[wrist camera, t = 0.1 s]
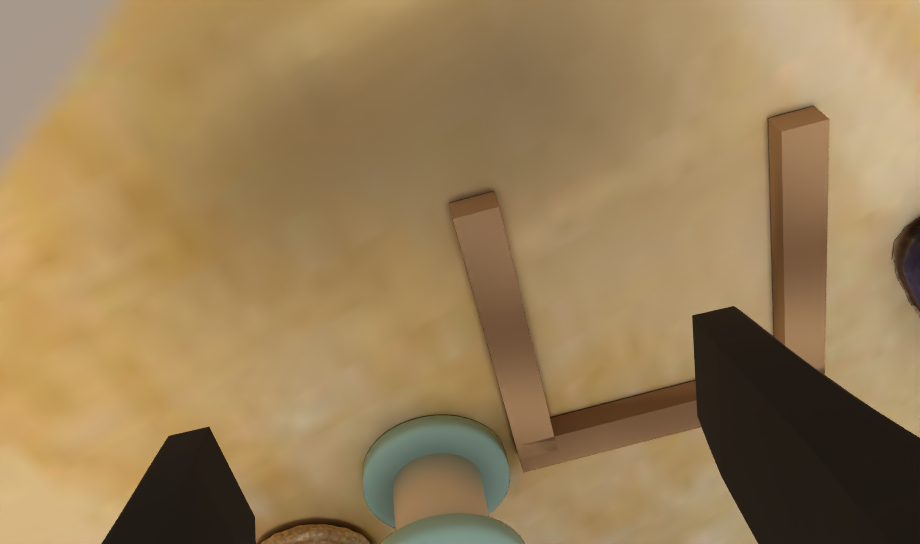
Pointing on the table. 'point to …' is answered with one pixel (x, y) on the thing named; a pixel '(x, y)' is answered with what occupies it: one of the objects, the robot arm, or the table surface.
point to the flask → (909, 261)
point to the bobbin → (439, 482)
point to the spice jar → (317, 535)
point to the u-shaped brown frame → (675, 408)
